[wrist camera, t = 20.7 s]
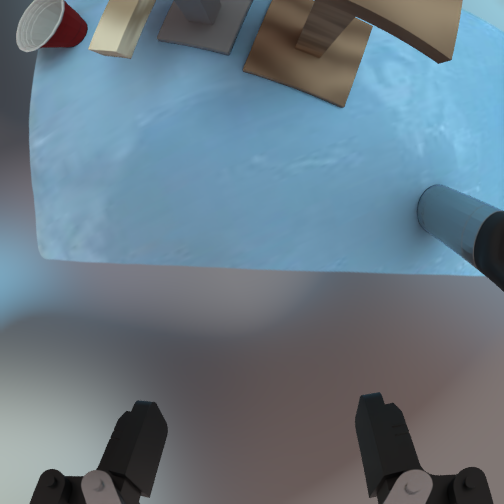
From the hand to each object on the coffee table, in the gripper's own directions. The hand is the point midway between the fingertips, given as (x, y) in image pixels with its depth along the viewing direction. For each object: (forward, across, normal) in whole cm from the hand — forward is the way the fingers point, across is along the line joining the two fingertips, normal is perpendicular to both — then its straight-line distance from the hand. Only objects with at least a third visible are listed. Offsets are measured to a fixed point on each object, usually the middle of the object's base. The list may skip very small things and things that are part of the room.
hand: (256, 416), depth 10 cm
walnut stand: (+40, -10, -24) cm, 47 cm away
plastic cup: (+39, +30, -36) cm, 61 cm away
